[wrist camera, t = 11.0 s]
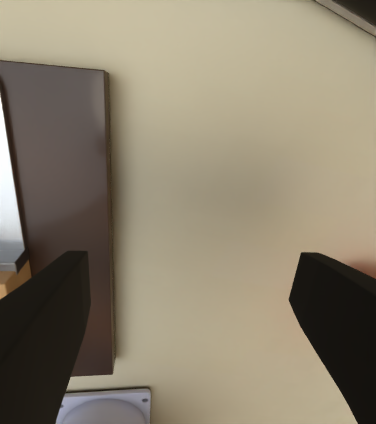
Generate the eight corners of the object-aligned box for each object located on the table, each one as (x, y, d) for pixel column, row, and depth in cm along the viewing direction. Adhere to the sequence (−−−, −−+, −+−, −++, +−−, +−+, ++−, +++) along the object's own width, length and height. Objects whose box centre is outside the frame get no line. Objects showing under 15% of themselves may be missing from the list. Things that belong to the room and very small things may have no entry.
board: (115, 357, 23) (113, 374, 22) (-48, 365, 21) (-62, 384, 20) (108, 72, 15) (104, 70, 14) (-151, 47, 13) (-185, 42, 12)
